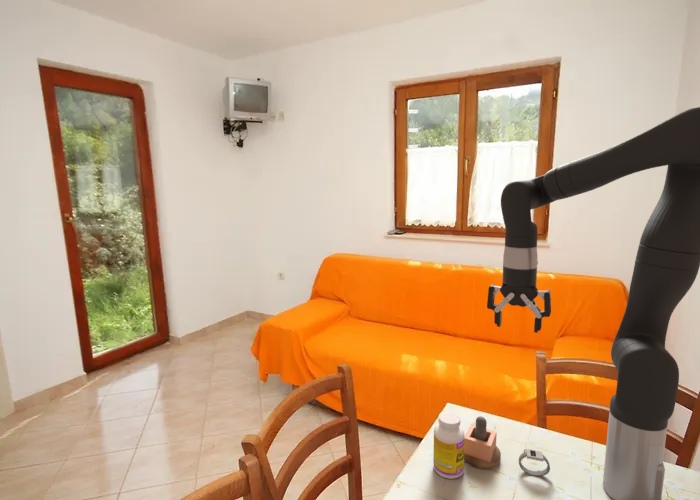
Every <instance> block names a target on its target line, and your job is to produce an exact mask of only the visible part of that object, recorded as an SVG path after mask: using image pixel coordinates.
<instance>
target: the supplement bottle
mask: <svg viewBox="0 0 700 500" xmlns="http://www.w3.org/2000/svg"><path fill="white" fill-rule="evenodd" d="M464 437H465V430H464V429H463V427H462V426H461V417H460V416H459V415H458V414H457V413H455V412H452V411H443V412H440V413H439V415H438V423H437V424H435V426H434V429H433V461H432V462H433V470H434V471H435V472H436V473H437V474H438V476H440V477H442V478H445V479H449V480H451V479H452V480H453V479H454V480H455V479H457V478H460V477H461V476H462V475H463V473H464V468H465V467H464V466H465V465H464V464H465V461H464Z"/></svg>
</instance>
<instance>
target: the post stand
mask: <svg viewBox="0 0 700 500" xmlns="http://www.w3.org/2000/svg"><path fill="white" fill-rule="evenodd" d="M487 424H488V423H487V420H486V418H485V417H483V416H481V415H480V416H477V417H476V418H475V426H476V430H475V439H478V440H481V441H484V442H486V429H487V427H488V426H487ZM501 455H502V453H501V450H500V448H499V447H498V446H497V445H496V448H495V451H494V454H493V456H492V459H491V462H488V461H485V460H482V459H479V458H476V457H473V456H470V455H467V454H464V463H465V464H466V465H469V466H471V467H473V468H474V469H478V470H483V471H484V470H487V471H488V470H493V469H496V468H497V467H499V465H500V463H501V458H502V456H501Z"/></svg>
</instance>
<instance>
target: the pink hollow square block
mask: <svg viewBox="0 0 700 500" xmlns="http://www.w3.org/2000/svg"><path fill="white" fill-rule="evenodd" d="M475 430H476V424H470V425H469V427H468V429H467V430H466V433H465V434H464V454H467V455H470V456H473V457H476V458H479V459H482V460H485V461H488V462H491V459H492V456H493V454H494V451H495V448H496V446H497V431H495V430H491V429H488V428H486V442H484V441H481V440H478V439H475Z"/></svg>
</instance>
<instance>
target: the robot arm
mask: <svg viewBox="0 0 700 500" xmlns="http://www.w3.org/2000/svg"><path fill="white" fill-rule="evenodd" d="M664 166H667V169H666V175H665V181H664V186H663V189H662V193H661V194H660V197H659V199H658V202H657V203H656V205H655V207H654V209H653V211H652V212H651V214H650V216H649V218H648V219H647V221H646V224H645V226H644V229H643V231H642V234H641V237H640V240H639V244H638V247H637V251H636V256H635V261H634V266H633V271H632V276H631V281H630V284H629V290H628V297H627V303H626V308H625V311H624V313H623V317H622V319H621V322H620V324H619V326H618V329H617V332H616V335H615V337H614V340H613V343H612V346H611V348H610V349H611V350H610V356H611V357H610V358H611V360H612V363H613V365H614V367H615V369H616V370H617V382H616V389H615V394H614V395H612V397H611V398H610V402H609V412H608V423H607V432H606V433H607V434H606V436H607V437H606V445H605V454H604V455H605V456H604V468H603V475H602V476H603V477H602V487H603V489H604V491H605V493H606V494H607V495H608V496H609V497H610V498H611V499H612V500H662V497H663V496H662V495H663V490H664V488H663V487H664V480H665V479H664V478H665V471H666V469H665V463H664V457H665V451H666V450H665V449H666V442H667V441H666V440H667V439H666V438H667V431H668V423H669V419H671V417H672V416H673V414H674V411H675V406H676V401H677V400H676V399H677V394H678V389H679V383H680V370H679V366H678V362H677V360H676V359H675V358H674V357H673V356H672V354H671V353H670V352H669V351H668V350H667V349H666V340H667V339H666V338H667V333H668V328H669V323H670V319H671V317H672V314H673V312H674V310H675V309H676V308H677V307H678V305H679V304H680V302H681V301H682V300H683V298H684V297H685V296H686V295H687V293H688V292H689V290H690V289H691V288H692V287H693V285H694V282H695V281H696V278H697V276H698V274H699V270H700V106H698V107H692V108H689V109H686V110H684V111H682V112H679V113H678V114H676V115H674V116H672V117H670V118H668V119H666V120H664V121H662V122H661V123H658V124H657V125H655V126H653V127H651V128H649V129H647V130H645V131H643V132H642V133H640V134H637V135H635V136H633V137H631V138H629V139H627V140H625V141H623V142H620V143H618V144H615V145H613V146H610V147H608V148H605V149H603V150H600V151H598V152H597V151H596V152H595V153H592V154H589V155H586V156H584V157H581V158H578V159H575V160H572V161H570V162H568V163H567V162H566V163H565V164H561V165H560V166H556V167H554V168H552V169H549V170H548V171H547V172H546V173H545V174H543V175H542V174H541V175H540V176H537V177H534V178H530V179H527V180H525V179H524V180H513V181H510V182H508V183H507V184H506V185H505V186H504V188H503V190H502V192H501V195H500V208H501V214H502V219H503V222H504V223H503V224H504V227H505V233H504V251H503V259H502V283H501V284H502V285H501V286H498V285H496V284H494V283H492V284H491V285H490V286H489V287H488V291H487V293H488V295H487V300H486V301H487V302H486V307H487V310H491V311H493V312H494V316H493V317H494V321H493V322H494V324H495V325H496V327H498V328H500V327H501V326H502V320H503V319H502V318H503V316H502V313H503V311H502V309H504V308H505V306H507V304H509V305H510V306H514V307H515V306H517V307H518V306H519V307H522V308H525V307H527V308H528V309H529V310H530V311H531V313H533V314H534V316H535V317H534V326H533V327H534V329H533V333H534V334H538V332H540V331H541V330H542V325H543V324H542V323H543V318H550V316H551V313H552V295H551V294H552V292H551V290H550V289H546V290H538V288H537V277H538V275H537V274H538V263H539V260H538V225H537V224H536V223H535V222H534V221H532V213H531V212H532V211H531V210H534V209H538V208H541V207H543V206H546V205H549V204H552V203H553V202H555V201H556V202H557V201H560V200H563V199H567V198H572V197H574V196H578V195H581V194H584V193H588V192H590V191H594V190H596V189H599V188H601V187H603V186H606V185H608V184H610V183H612V182H615V181H617V180H619V179H621V178H624V177H627V176H629V175H633V174H635V173H640V172H641V171H646V170H649V169H654V168H659V167H664ZM499 292H500V293H501V295H502V297H503V299H502V300H501V301H500V302H499V303H498V304H496V303H495V299H496V295H497V294H498V293H499ZM538 296H539V298H540V300H542V301H544V302H543V304H544V305H543V307H544V310H541V308H540V307H539V306H538V303H537V302H536V301H535V299H536V298H537V297H538Z"/></svg>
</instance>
